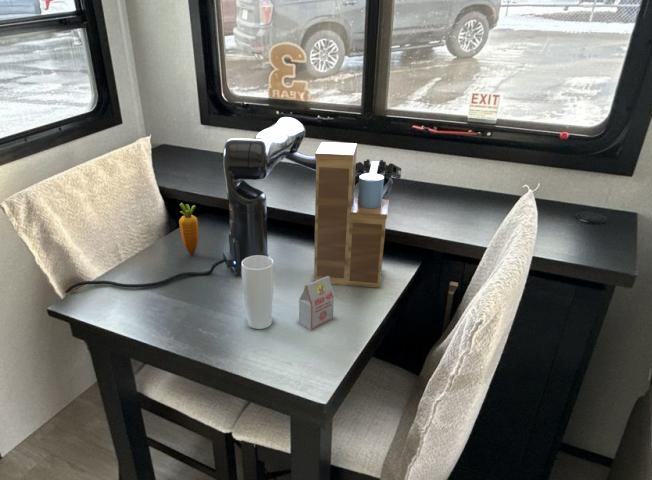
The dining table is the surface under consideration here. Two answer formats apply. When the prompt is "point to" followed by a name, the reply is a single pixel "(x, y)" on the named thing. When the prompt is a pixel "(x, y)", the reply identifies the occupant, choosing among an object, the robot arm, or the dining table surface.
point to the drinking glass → (258, 290)
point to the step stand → (345, 222)
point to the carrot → (189, 229)
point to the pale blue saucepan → (371, 188)
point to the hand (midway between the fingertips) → (374, 163)
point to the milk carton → (316, 303)
